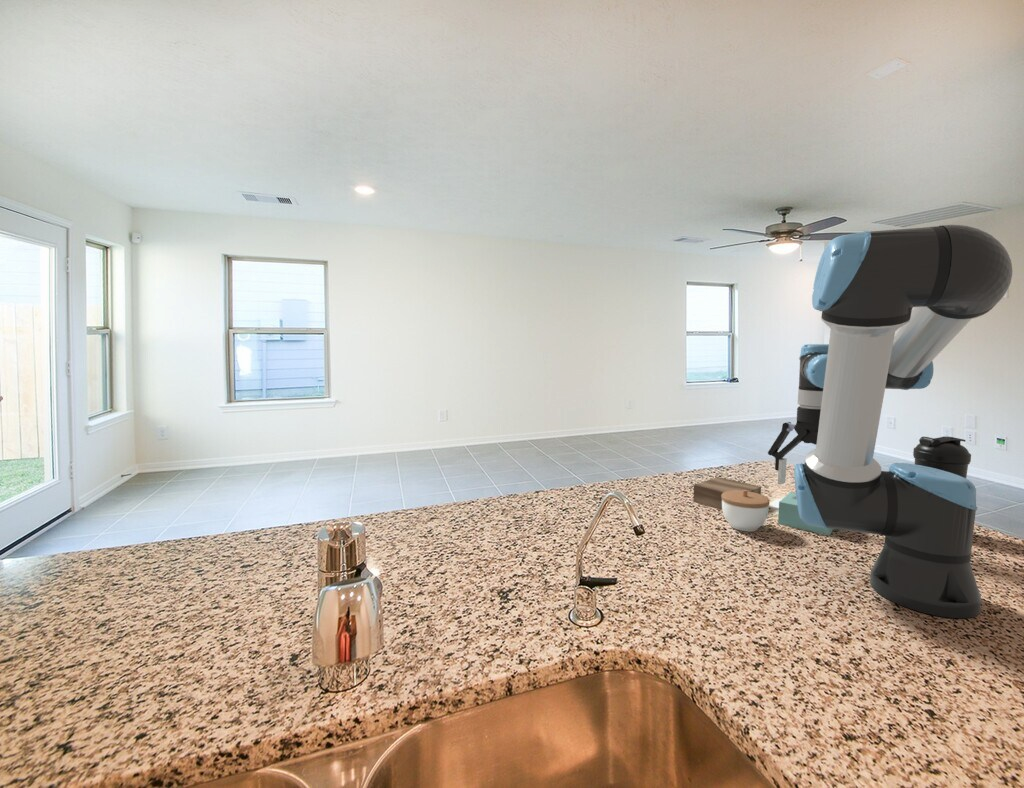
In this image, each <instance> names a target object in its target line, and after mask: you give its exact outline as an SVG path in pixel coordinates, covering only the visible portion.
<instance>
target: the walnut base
mask: <svg viewBox="0 0 1024 788" xmlns="http://www.w3.org/2000/svg"><path fill="white" fill-rule="evenodd" d="M734 490H738V491H743V490H747V491H749V492H754V493H758V494H761V495H762V486H760V485H755V484H751V483H747V482H743V481H737V480H733V479H729V478H725V477H720V476H716V477H714V478H710V479H707V480H704V481H701V482H697V483H695V484H693V496H692V497H693V498H692V499H693V500H692V502H694V503H697V504H700V505H705V506H708V507H710V508H715V509H718V510H722V498H721V495H722V493H723V492H726V491H734Z"/></svg>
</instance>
